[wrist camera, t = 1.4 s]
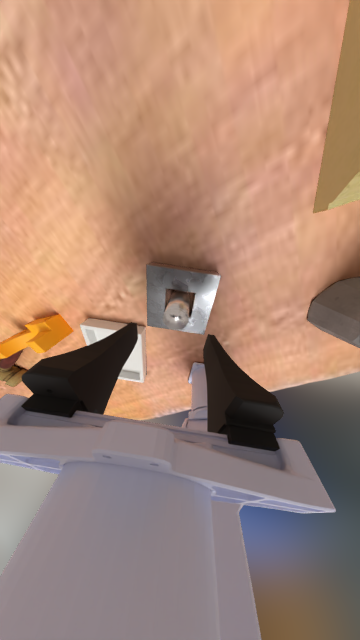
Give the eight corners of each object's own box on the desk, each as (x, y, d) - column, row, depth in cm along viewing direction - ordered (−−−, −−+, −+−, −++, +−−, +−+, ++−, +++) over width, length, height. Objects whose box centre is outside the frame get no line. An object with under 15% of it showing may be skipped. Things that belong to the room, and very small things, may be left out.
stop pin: (191, 290, 21) (190, 310, 15) (188, 307, 22) (186, 331, 17) (172, 287, 21) (163, 306, 15) (170, 305, 22) (162, 327, 17)
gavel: (-18, 327, 26) (35, 355, 29) (10, 316, 30) (53, 342, 33) (-32, 371, 33) (11, 389, 36) (-9, 358, 37) (28, 375, 40)
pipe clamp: (60, 313, 26) (24, 333, 20) (74, 330, 28) (45, 352, 23) (19, 323, 28) (-23, 342, 23) (34, 337, 31) (0, 358, 25)
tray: (145, 326, 25) (141, 334, 23) (146, 373, 34) (143, 382, 32) (88, 317, 26) (79, 324, 23) (104, 367, 34) (98, 375, 32)
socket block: (217, 272, 19) (220, 276, 17) (203, 326, 24) (203, 334, 22) (151, 262, 19) (146, 264, 17) (151, 318, 24) (147, 325, 22)
